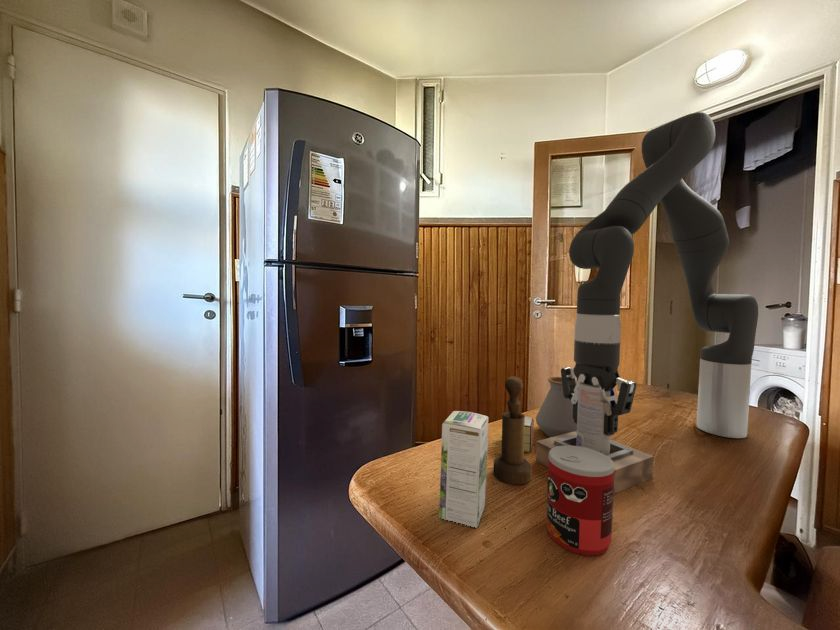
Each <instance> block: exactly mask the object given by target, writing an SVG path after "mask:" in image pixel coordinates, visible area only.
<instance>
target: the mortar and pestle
mask: <svg viewBox="0 0 840 630" xmlns="http://www.w3.org/2000/svg"><path fill="white" fill-rule="evenodd" d="M504 386H505V389H506V390H507V393H508V394H509V400H507V407H508V411H505V412H503V413H502V417H501V418H502V421H501V425H502V426H501V453H500V454H499V455H498V456H496V457H495V458H494V459H493V469H492V471H493V472H492V473H493V475H494V477H495V478H497V480H499V481H501V482H503V483H506V484H510V485H518V486H519V485H525V484H528V483H529V482H531V480H532V465H531V463H530V462H529V461H528V460H527V459H526V458H525V452H524V426H525V417H526V416H525V414H523V413H521V412H519V411H520V408H521V404H522V403H521V401H520V400H519V395H520V393H521V392H522V391H523V388H524V383H523V380H522V379H521V378H520V377H518V376H513V375H512V376H509V377H508V378H507V379H506V380H505V385H504Z"/></svg>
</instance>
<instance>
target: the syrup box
mask: <svg viewBox="0 0 840 630" xmlns="http://www.w3.org/2000/svg"><path fill="white" fill-rule="evenodd" d="M488 436H489V416H487V415H484V414H480V413H476V412H472V411H465V410H464V411H462V410H453V411H452V412H451V414H450V415H449V416H448V417H447V418H446V419H445V420H444V421H443V423H442V425H441V446H440V447H441V450H440V451H441V452H440V453H441V455H440V478H439V479H440V483H439V484H440V487H439V513H438V518H439V519H440V518H441V519H440V520H442V519H444V520H443V521H446V520H448V521H447V522H450V521H453V522H452V523H454V522H456V523H455V524H458V523H461V524H460V525H462V524H465V525H464V526H466V525H467V526H466V527H470V526H471V527H472V528H474V527H475V529H478V527H479V525H480V522H481V519H482V516H483V513H484V510H485V507H486V498H487V497H486V496H487V495H486V494H487V470H488V469H487V467H488V447H489V446H488V444H489V443H488V442H489V441H488V439H489V437H488Z"/></svg>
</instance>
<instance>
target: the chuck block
mask: <svg viewBox="0 0 840 630" xmlns="http://www.w3.org/2000/svg"><path fill="white" fill-rule="evenodd" d="M576 443H577V431H574V432H570V433H566V434H562V435H558V436H555V437H548V438H543V439H540V440H536V443H535V444H536V450H535V453H536V454H535V462H537V463H538V464H541V465H542V466H544V467H545V468H547V469H548V456H549V451H550V450H551V449H552V448H554V447H557V446H565V445H570V446H576ZM606 456H608V457H609V458H610V459H611V460H612V461H613V463H614V493H613V495H616V494H618V493H619V492H622V491H624V490H627V489H629V488H632V487H634V486H637V485H639V484H641V483H644V482H647V481H649V480H652V479H653V474H654V455H652V454H649V453H647V452H643V451H641V450H639V449H636V448H633V447H631V446H628V445H626V444H623V443H621V442H618V441H616V440H613V439H611V438H610V454H609V455H606Z"/></svg>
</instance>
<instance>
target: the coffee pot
mask: <svg viewBox="0 0 840 630" xmlns="http://www.w3.org/2000/svg"><path fill="white" fill-rule="evenodd" d="M547 381H548V382H549V385H550V388H549V391H548V392H547V394H546V397H544V400H543V402H542V405H540V408H539V411H538V412H537V413H536V417H535V422H536V425H537V426H538V427H539V429H540V430H541V431H542V432H543V433H544V435H546V436H548V438H551V437H555V436H558V435H562V434H566V433H570V432H574V431H577V424H576V423H574V419H573V403H572V402H571V400H570V399H568V398H567V399H566V398H565V397H564V394H563V386H562V377H561V376H552V377H548V379H547ZM577 382H578V380H577V379H575V383H576V384H577ZM569 390H570V387H569Z"/></svg>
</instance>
